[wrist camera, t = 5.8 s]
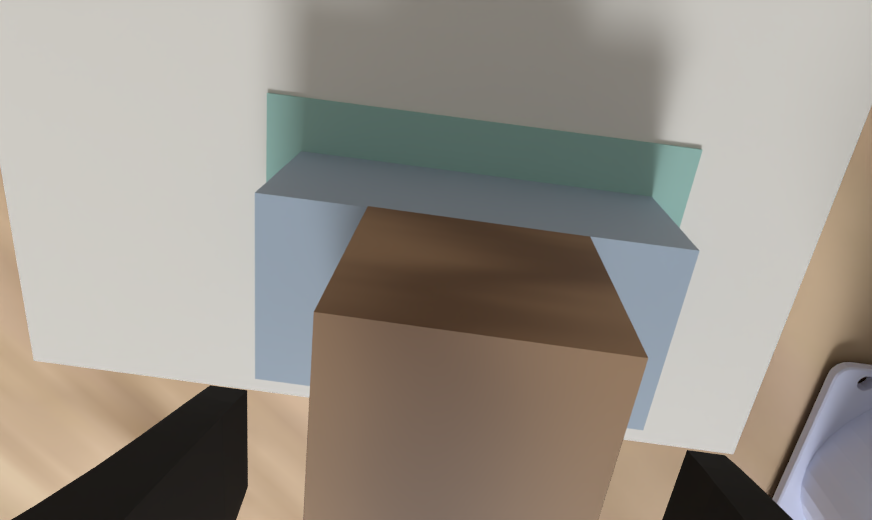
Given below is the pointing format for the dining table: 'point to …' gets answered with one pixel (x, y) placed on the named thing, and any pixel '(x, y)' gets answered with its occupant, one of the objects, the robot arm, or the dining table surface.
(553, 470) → the walnut cube
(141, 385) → the dining table surface
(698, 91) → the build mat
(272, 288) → the base block
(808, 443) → the robot arm
